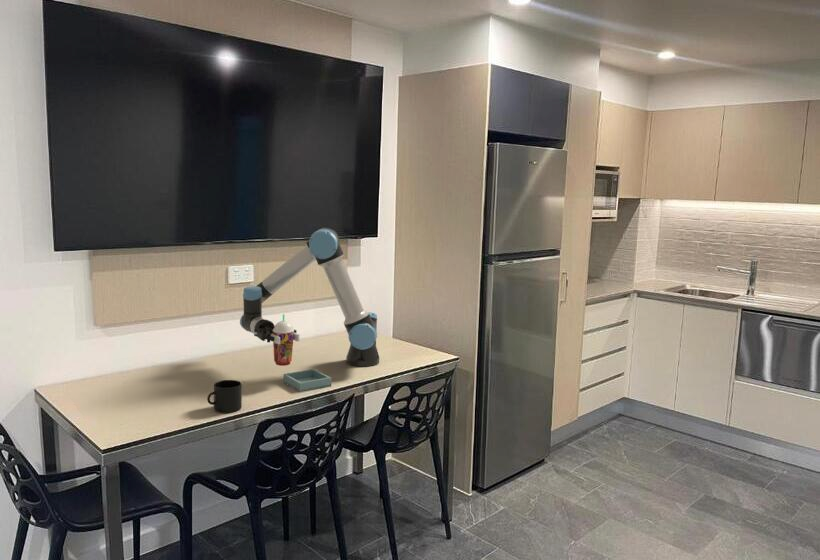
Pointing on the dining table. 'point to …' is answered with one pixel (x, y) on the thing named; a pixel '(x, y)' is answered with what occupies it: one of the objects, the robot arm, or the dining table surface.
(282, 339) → the smoothie
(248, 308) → the robot arm
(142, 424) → the dining table surface
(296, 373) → the bin
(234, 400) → the mug
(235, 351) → the dining table surface
